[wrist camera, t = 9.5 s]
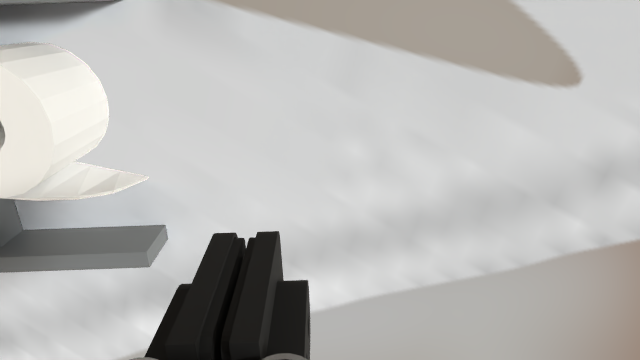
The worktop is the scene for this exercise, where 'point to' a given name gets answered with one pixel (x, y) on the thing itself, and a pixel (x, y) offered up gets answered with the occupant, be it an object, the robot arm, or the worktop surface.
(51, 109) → the toilet paper
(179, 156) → the worktop surface
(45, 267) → the box
